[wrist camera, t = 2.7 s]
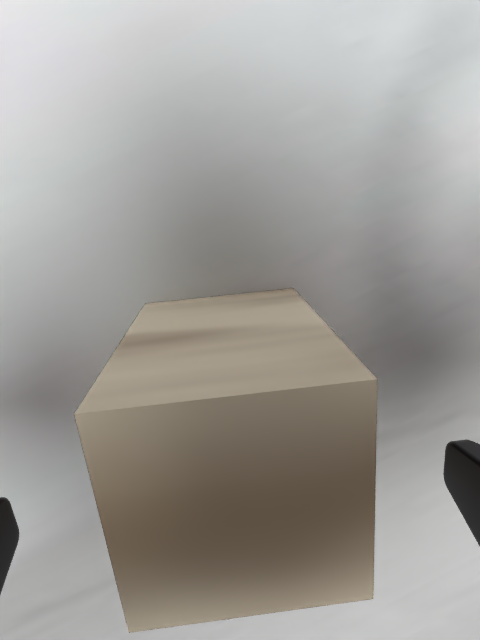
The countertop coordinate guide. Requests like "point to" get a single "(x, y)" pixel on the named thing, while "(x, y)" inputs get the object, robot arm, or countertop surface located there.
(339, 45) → the countertop surface
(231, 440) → the birch block
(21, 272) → the countertop surface
